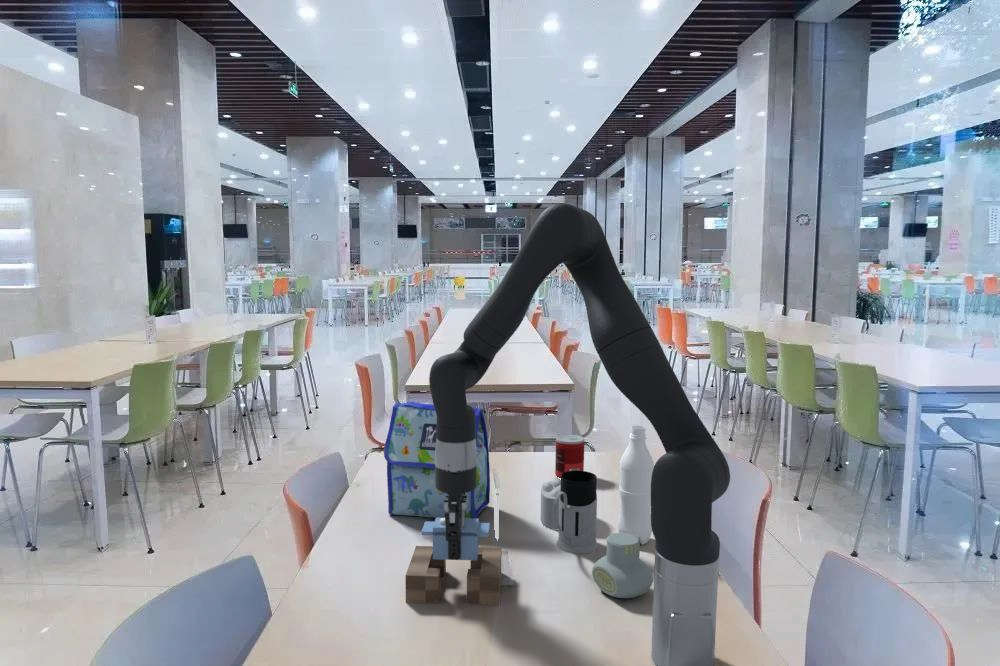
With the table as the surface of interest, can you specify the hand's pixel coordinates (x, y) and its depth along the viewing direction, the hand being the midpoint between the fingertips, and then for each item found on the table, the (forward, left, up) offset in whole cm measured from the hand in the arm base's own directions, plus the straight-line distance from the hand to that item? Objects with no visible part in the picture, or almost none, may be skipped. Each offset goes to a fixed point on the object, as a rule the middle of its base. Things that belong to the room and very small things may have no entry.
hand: (455, 552), depth 123 cm
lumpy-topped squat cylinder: (+33, -22, -7) cm, 41 cm away
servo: (0, 0, 0) cm, 0 cm away
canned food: (+63, -26, -7) cm, 68 cm away
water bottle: (+22, -37, -7) cm, 43 cm away
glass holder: (+17, -23, -7) cm, 29 cm away
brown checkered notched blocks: (0, 0, -7) cm, 7 cm away
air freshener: (0, -31, -7) cm, 31 cm away
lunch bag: (+36, +7, -7) cm, 37 cm away
